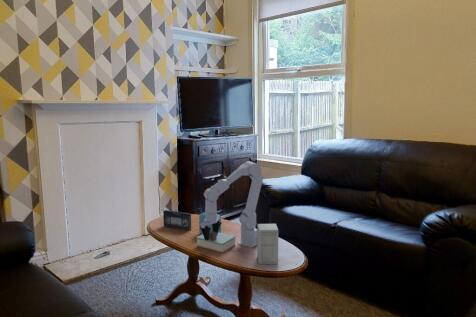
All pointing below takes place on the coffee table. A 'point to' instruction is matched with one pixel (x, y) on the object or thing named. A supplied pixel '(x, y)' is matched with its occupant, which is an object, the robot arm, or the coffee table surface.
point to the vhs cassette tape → (177, 220)
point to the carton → (215, 245)
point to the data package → (201, 220)
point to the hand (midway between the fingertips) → (210, 237)
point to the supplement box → (267, 243)
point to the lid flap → (217, 238)
